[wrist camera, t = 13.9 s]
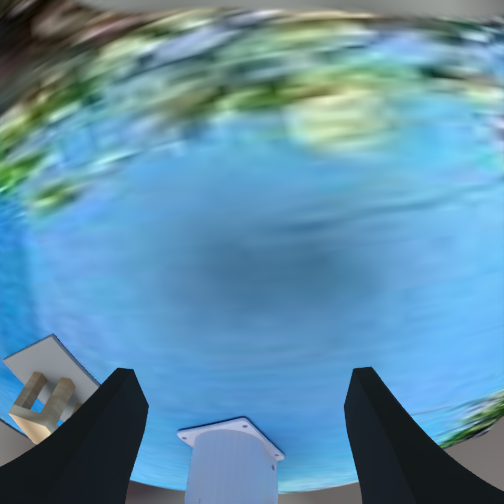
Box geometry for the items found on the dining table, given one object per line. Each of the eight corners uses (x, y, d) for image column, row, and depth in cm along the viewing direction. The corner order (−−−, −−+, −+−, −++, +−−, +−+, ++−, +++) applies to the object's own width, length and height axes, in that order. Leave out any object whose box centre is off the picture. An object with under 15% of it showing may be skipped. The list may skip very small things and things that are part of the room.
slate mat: (136, 417, 27) (135, 420, 27) (72, 426, 30) (71, 428, 29) (53, 333, 23) (51, 336, 22) (4, 358, 25) (2, 360, 25)
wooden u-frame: (71, 379, 25) (45, 426, 19) (90, 411, 27) (71, 456, 21) (34, 371, 25) (8, 412, 19) (54, 402, 27) (33, 442, 22)
